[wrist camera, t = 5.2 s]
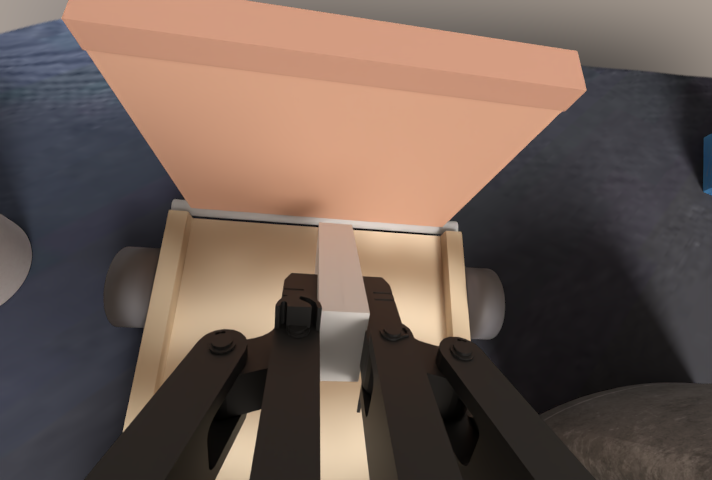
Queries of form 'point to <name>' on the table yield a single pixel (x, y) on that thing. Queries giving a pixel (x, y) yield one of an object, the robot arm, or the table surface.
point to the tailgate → (321, 108)
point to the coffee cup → (13, 258)
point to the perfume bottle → (707, 165)
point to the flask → (640, 431)
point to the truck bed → (257, 309)
